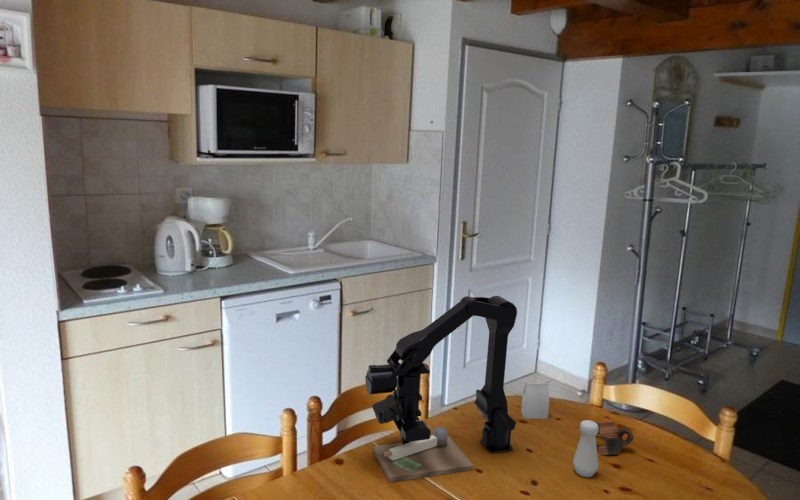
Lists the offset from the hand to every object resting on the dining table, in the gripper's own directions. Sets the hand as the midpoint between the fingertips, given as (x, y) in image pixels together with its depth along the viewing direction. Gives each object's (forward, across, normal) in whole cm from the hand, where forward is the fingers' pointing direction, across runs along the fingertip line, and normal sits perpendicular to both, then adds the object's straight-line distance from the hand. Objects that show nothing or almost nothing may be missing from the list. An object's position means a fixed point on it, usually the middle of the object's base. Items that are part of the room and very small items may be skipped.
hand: (405, 447), depth 145 cm
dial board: (+2, +3, +3) cm, 5 cm away
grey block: (+3, -12, +44) cm, 46 cm away
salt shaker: (+2, +18, +40) cm, 44 cm away
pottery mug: (+2, +8, +54) cm, 54 cm away
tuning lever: (+1, +1, +3) cm, 3 cm away
